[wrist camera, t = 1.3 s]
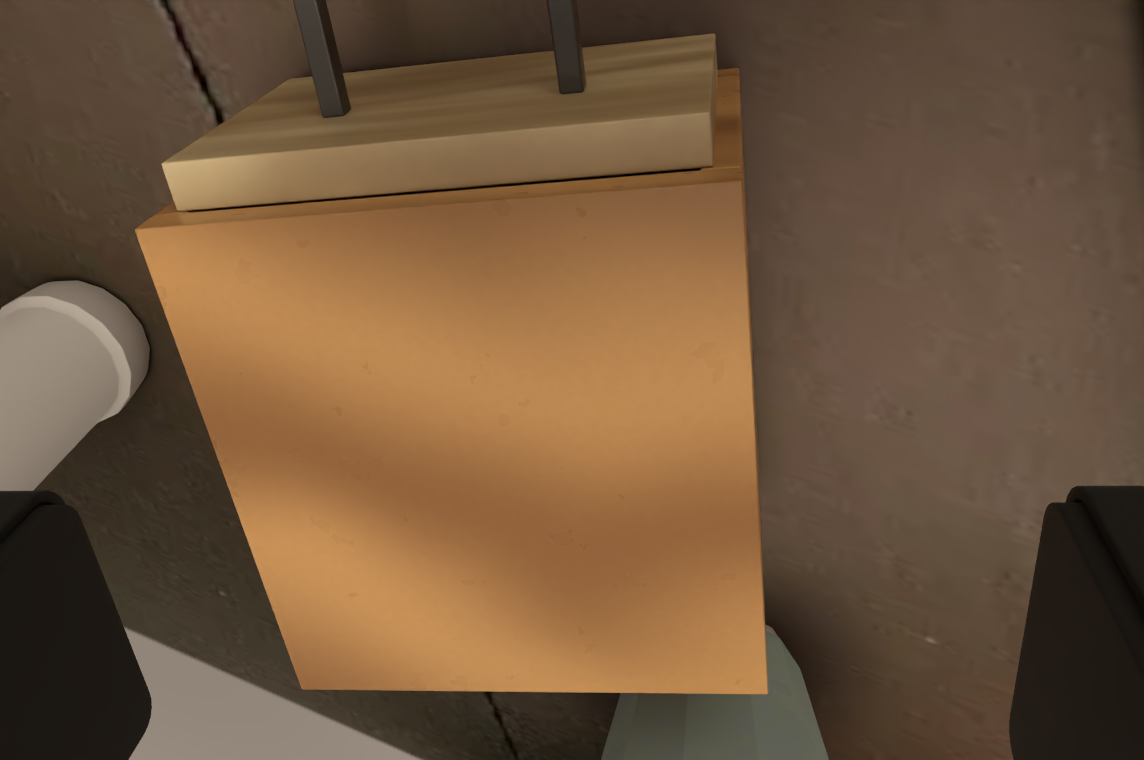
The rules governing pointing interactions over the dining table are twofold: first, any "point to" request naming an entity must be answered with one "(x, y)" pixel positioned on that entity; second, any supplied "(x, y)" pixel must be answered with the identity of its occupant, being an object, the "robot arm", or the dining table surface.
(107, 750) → the robot arm
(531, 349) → the cabinet
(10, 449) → the bottle
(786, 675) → the disposable coffee cup
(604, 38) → the dining table surface
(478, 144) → the drawer
